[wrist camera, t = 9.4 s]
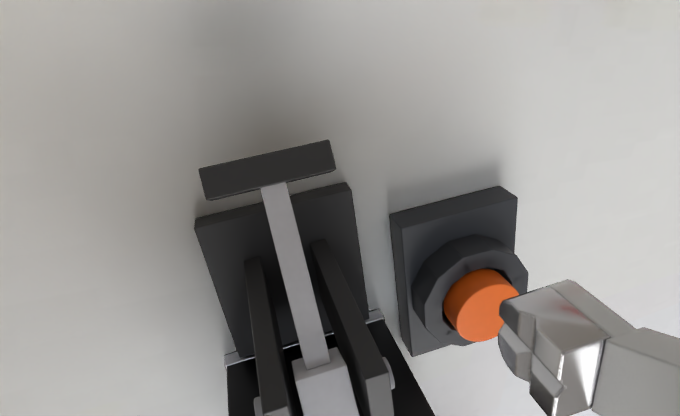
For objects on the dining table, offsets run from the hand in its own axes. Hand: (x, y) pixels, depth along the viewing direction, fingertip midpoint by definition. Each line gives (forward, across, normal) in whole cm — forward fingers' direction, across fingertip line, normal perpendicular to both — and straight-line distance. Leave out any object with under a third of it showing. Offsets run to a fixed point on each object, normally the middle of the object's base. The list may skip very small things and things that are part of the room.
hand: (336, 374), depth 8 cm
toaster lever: (+10, 0, +5) cm, 12 cm away
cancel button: (+14, -11, +12) cm, 21 cm away
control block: (+17, -11, +12) cm, 24 cm away
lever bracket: (+17, 0, +9) cm, 19 cm away
